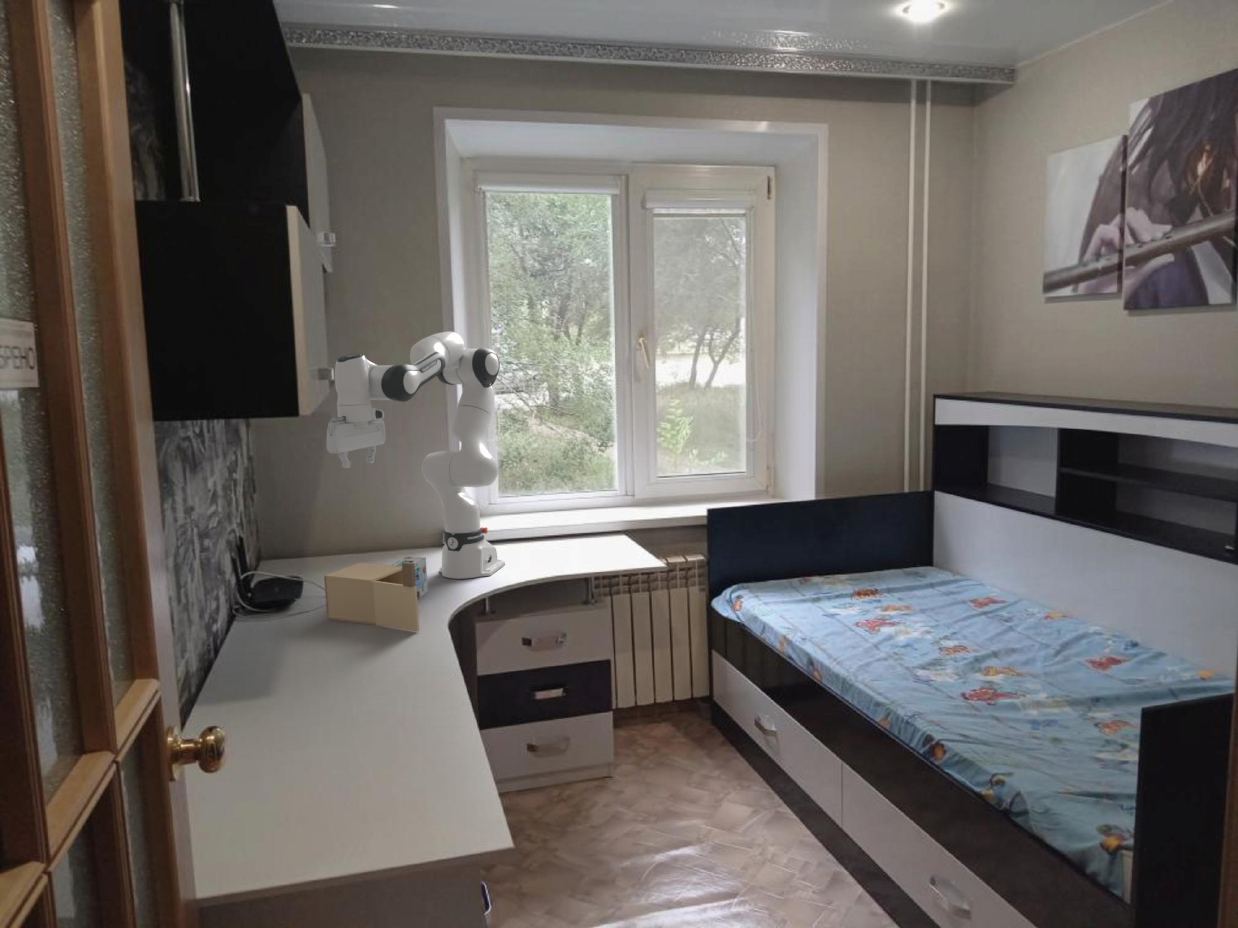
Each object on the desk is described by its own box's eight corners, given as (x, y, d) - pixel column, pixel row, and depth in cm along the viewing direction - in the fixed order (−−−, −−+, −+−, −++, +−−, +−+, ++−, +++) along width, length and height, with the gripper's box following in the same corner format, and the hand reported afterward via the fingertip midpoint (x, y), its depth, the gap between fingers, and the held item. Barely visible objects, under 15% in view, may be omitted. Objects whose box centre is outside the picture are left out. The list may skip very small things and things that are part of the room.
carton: (362, 603, 240) (359, 562, 239) (408, 609, 234) (406, 567, 232) (327, 618, 228) (324, 575, 226) (375, 625, 221) (372, 580, 220)
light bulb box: (412, 603, 240) (410, 566, 239) (390, 602, 241) (388, 565, 240) (428, 592, 250) (426, 556, 249) (407, 591, 252) (405, 556, 250)
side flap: (419, 630, 215) (415, 563, 213) (416, 632, 214) (412, 564, 212) (378, 623, 222) (373, 557, 219) (374, 624, 221) (370, 558, 218)
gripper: (337, 418, 219) (341, 471, 221) (388, 411, 237) (391, 460, 239) (318, 418, 221) (322, 470, 223) (369, 411, 240) (373, 459, 242)
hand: (358, 465), depth 231 cm, fingers open, 8 cm apart
